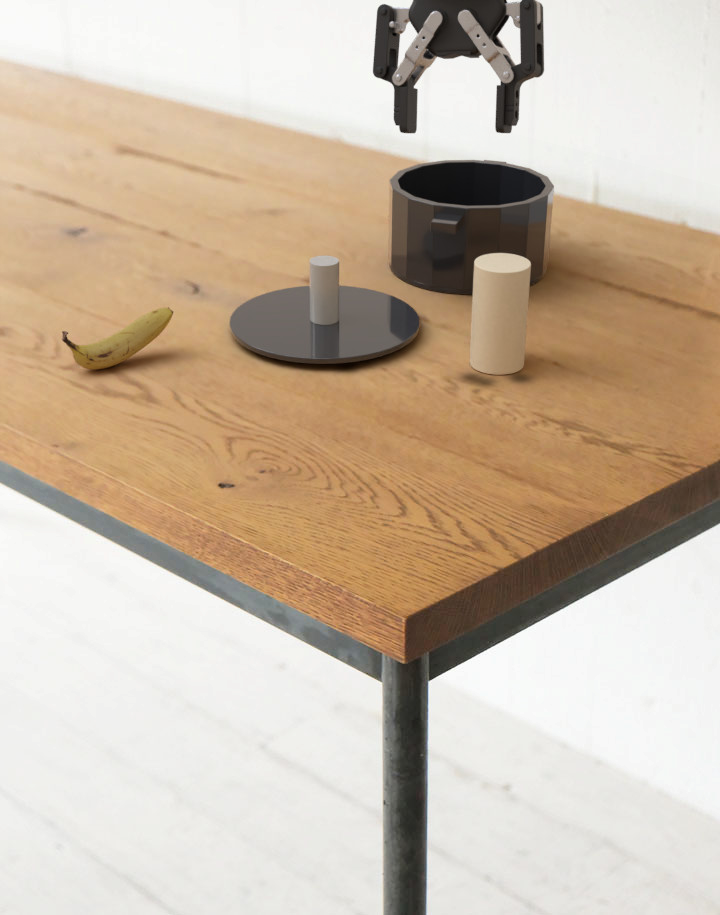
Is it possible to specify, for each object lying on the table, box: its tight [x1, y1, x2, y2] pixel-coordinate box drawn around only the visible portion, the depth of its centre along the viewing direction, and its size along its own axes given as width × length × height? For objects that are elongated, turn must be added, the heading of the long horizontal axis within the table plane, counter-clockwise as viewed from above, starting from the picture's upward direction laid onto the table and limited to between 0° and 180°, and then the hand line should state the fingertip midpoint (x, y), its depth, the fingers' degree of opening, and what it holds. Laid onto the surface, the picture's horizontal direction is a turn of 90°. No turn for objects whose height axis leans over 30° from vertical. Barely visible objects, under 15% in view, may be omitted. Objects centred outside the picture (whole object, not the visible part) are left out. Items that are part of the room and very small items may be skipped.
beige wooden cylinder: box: [469, 253, 531, 376], centre depth 112 cm, size 5×5×9 cm
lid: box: [228, 255, 421, 365], centre depth 118 cm, size 17×17×7 cm
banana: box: [61, 307, 174, 371], centre depth 113 cm, size 10×2×4 cm, turn 126°
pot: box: [387, 159, 555, 296], centre depth 132 cm, size 16×21×8 cm
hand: (455, 132), depth 113 cm, fingers open, 8 cm apart
